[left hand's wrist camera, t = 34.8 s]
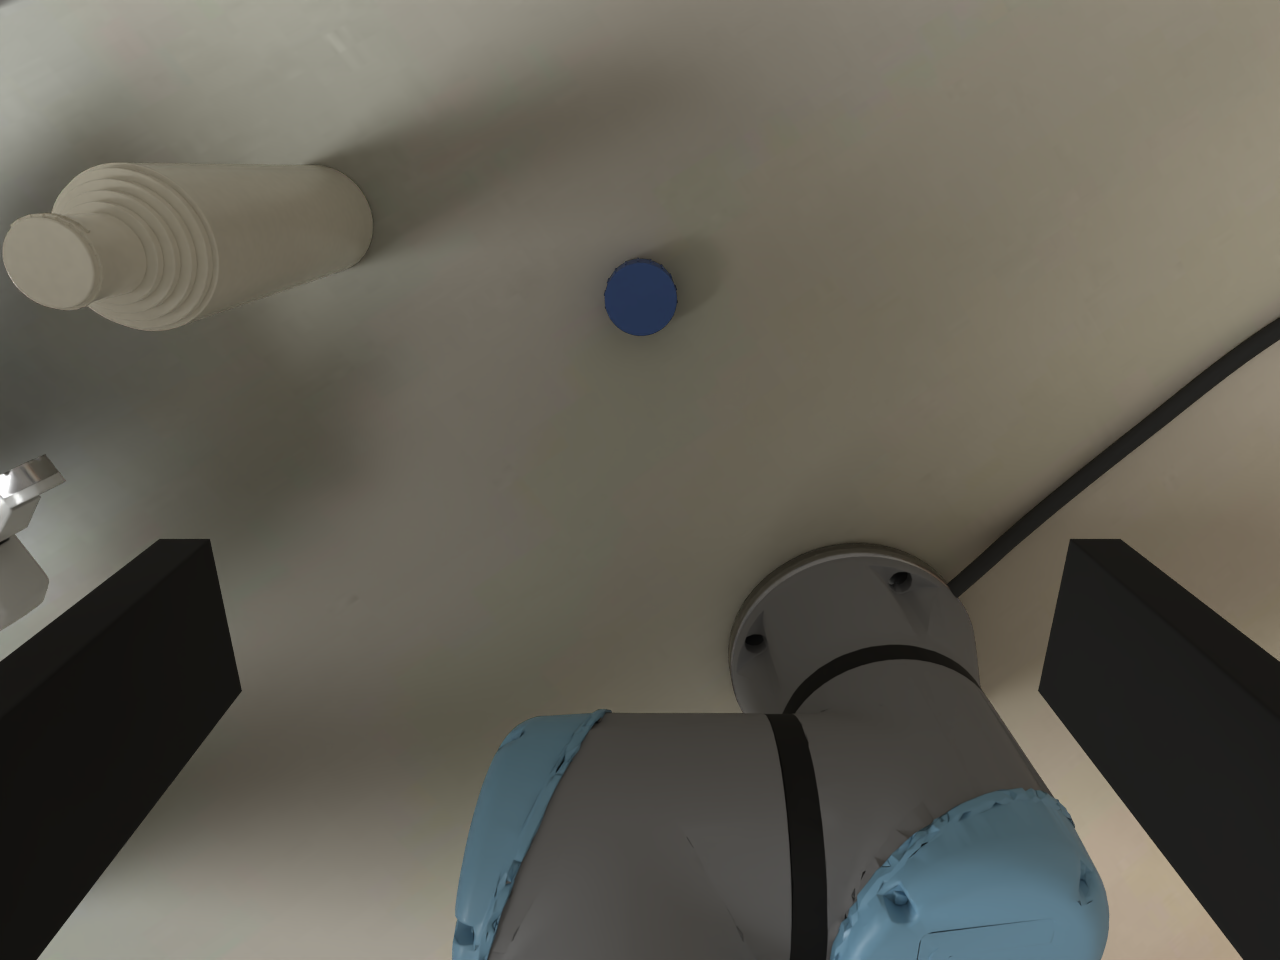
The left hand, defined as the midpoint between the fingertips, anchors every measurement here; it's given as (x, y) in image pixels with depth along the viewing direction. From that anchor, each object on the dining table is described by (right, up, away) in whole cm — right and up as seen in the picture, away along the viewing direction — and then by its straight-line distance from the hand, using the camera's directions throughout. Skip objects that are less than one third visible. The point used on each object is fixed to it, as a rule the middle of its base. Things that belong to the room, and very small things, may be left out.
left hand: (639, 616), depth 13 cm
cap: (0, +12, +30) cm, 32 cm away
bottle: (-17, +16, +30) cm, 38 cm away
